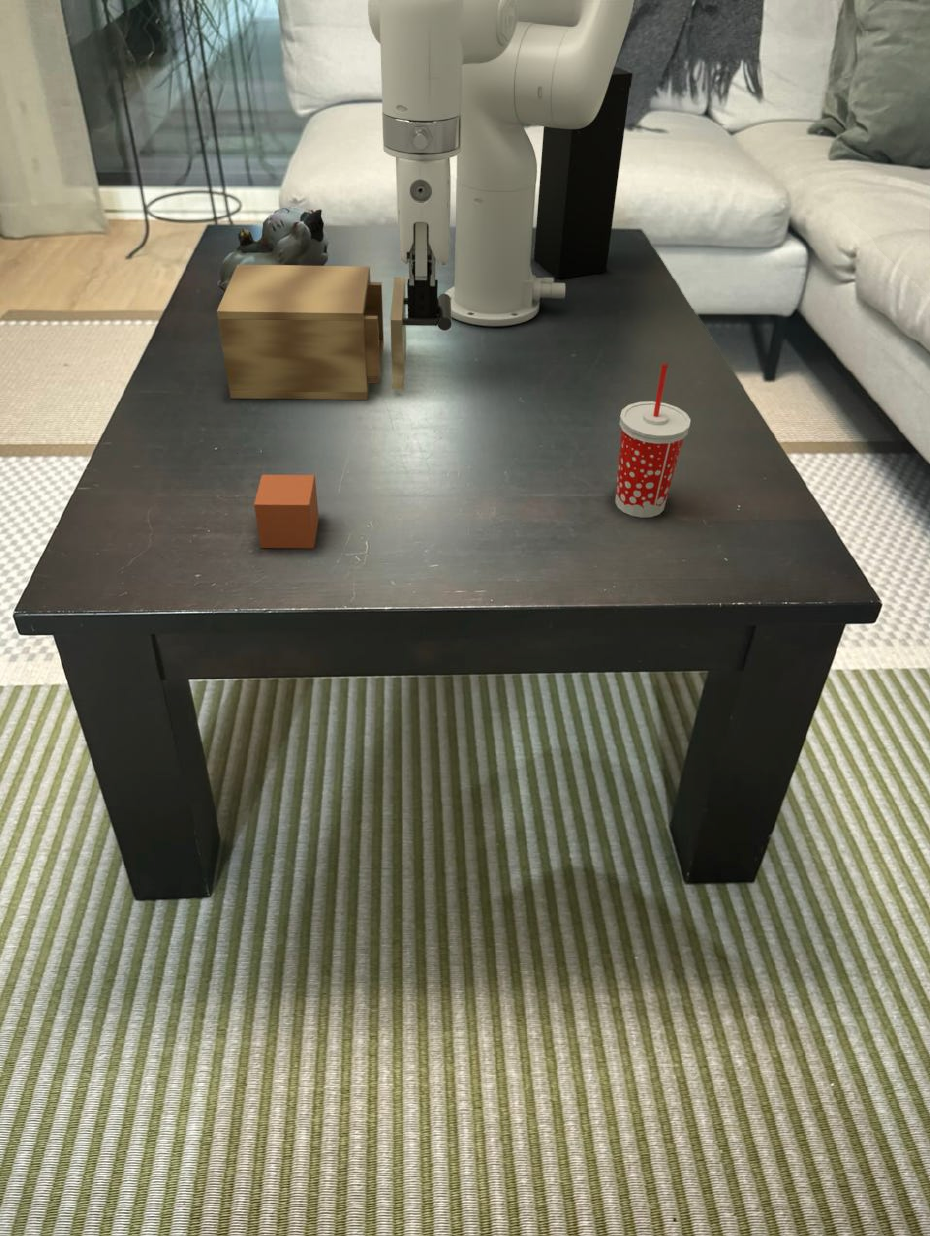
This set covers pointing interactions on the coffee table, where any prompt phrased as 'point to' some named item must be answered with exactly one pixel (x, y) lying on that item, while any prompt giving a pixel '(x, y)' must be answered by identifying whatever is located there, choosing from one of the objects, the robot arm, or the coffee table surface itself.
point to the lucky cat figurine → (281, 243)
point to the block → (287, 511)
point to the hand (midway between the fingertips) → (422, 317)
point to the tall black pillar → (581, 187)
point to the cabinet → (295, 332)
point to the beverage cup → (649, 453)
